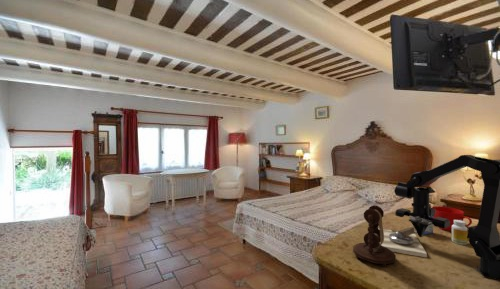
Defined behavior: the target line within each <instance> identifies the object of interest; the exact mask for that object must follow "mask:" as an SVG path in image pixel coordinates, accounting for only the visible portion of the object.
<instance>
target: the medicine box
mask: <svg viewBox="0 0 500 289" xmlns="http://www.w3.org/2000/svg"><path fill="white" fill-rule="evenodd" d="M417 217H418V216H417ZM429 217H431V218H433V216H429ZM412 226H413V225H412ZM413 227H414V226H413ZM415 234H417V232H416V230H415ZM429 234H430V235H431V234H434V225H433V224H432V225H429V226H428V227H427V228H426V230H425V232H424V234H423V236H424V235H429Z"/></svg>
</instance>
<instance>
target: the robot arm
mask: <svg viewBox="0 0 500 289" xmlns="http://www.w3.org/2000/svg"><path fill="white" fill-rule="evenodd" d="M464 168H469V169H472V170H474V171H477V172H480V177H481V179H482V183H483V184H484V185H483V192H482V198H481V203H480V209H479V214H478V221H477V224H476V225H472V226H471V225H470V226H468V236H467V239H468V242H469V245H470V246H471V247H472V248H473V251H474V254H475V256H476V257H479V266H475V267H474V268H475V269H476V270H477V271H478V272H479V274H480V275H481V276H482V277H483V276H484V278H487V277H490V278H489V279H492V278H496V279H495V280H498V279H500V232H499V229H498V222H499V215H500V159H490V158H485V157H479V156H475V155H473V154H461V155H458V157H456V158H454V159H451V160H450V161H449V160H448V161H446V162H444V163H443V164H440V165H438V166H436V167H434V168H431V169H428V170H427V169H426V170H422V171H417V172H414V173H412V174H411V176H410V179H409V180H408V181H407V182H402V181H398V182H397V185H396V186H395V188H394V194H395V196H397V197H399V198H405V199H407V200H408V199H409V200H411V199H412V203H411V206H412V212H411V210H410V209H407V208H403V207H401V208H398V209H396V210H395V213H394V215H395V216H396V217H399V218H403V217H405V216H406V217H409V219H408V222H410V223H411V224H412V226H414V228H415V230H416V232H417V233H416V234H417V236H418V237H419V238H423V237H424V235H423V234H424V232H425V230H426V228H427V227H428V226H429V225H432V224H433V227H436V228H439V227H440V228H447V227H449V226H450V221H449V220H448V219H446V218H441V217H436V218H431V217H429V216H434V217H435V212H436V210H435V209H433V208H432V205H431V204H430V194H435V193H436V190H434V189H433V188H432V187H431V186H429V185H432V184H434V183H435V182H436V181H437V180H439V179H440V178H441V177H444V176H447V175H449V174H452V173H455V172H458V171H459V170H462V169H464ZM425 186H426V187H425ZM417 216H418V217H417ZM440 228H439V229H440Z"/></svg>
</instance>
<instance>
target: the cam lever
mask: <svg viewBox="0 0 500 289" xmlns="http://www.w3.org/2000/svg"><path fill="white" fill-rule="evenodd" d="M394 231H395V233H391V234H389V239H390V240H391V241H392V242H394V243H397V244H401V245H413V242H414V240H413V238H412V237H410V236H408V235H411V234H415V235H416V233H415V228H414V227H413V225H411V226H409V227H405V228H403V229H400V230H394Z"/></svg>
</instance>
